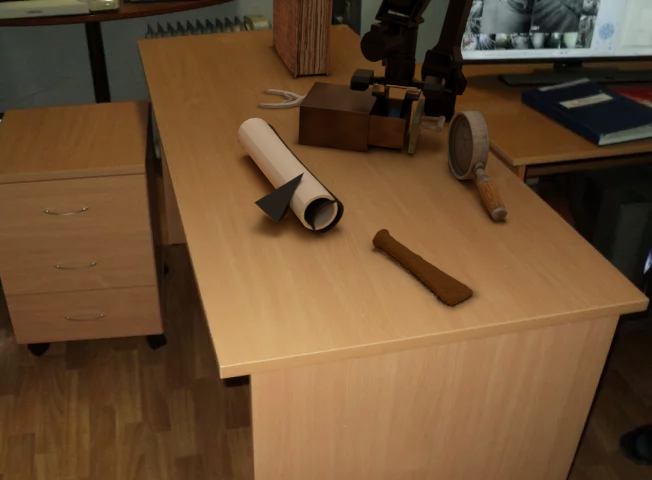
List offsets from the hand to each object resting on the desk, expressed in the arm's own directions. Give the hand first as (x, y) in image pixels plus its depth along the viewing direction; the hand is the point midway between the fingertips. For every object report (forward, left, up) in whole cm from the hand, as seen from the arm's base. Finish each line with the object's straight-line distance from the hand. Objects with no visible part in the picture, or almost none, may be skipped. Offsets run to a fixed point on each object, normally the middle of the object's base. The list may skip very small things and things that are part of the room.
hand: (393, 123), depth 154 cm
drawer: (-1, 0, -3) cm, 4 cm away
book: (+32, -43, -4) cm, 54 cm away
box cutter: (0, 0, -1) cm, 1 cm away
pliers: (+26, -15, -4) cm, 30 cm away
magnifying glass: (-18, +17, -4) cm, 25 cm away
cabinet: (+12, 0, -4) cm, 12 cm away
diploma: (+18, +29, -4) cm, 35 cm away
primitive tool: (-12, +47, -4) cm, 49 cm away
